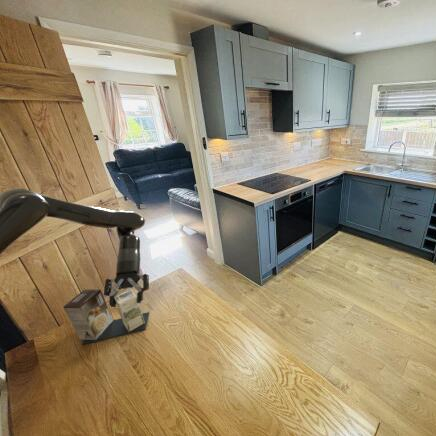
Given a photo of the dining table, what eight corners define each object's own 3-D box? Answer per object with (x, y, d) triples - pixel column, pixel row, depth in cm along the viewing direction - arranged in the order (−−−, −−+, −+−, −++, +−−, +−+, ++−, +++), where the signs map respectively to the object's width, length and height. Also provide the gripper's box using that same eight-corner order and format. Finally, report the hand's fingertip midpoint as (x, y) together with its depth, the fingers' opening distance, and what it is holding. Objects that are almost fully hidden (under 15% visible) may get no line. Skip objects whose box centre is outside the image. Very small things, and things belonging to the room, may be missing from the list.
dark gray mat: (82, 345, 85) (81, 344, 85) (91, 326, 93) (91, 325, 93) (145, 329, 92) (145, 328, 92) (149, 313, 100) (148, 312, 99)
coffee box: (98, 320, 95) (84, 288, 89) (113, 320, 95) (101, 288, 88) (78, 340, 87) (62, 306, 80) (96, 340, 87) (81, 307, 80)
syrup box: (139, 316, 97) (130, 288, 91) (145, 323, 94) (136, 295, 88) (123, 324, 93) (113, 296, 87) (129, 333, 90) (118, 303, 84)
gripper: (102, 262, 88) (98, 308, 82) (145, 257, 91) (144, 301, 86) (112, 266, 95) (109, 308, 89) (152, 261, 98) (151, 302, 93)
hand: (126, 304), depth 88 cm, fingers closed on syrup box, 8 cm apart
